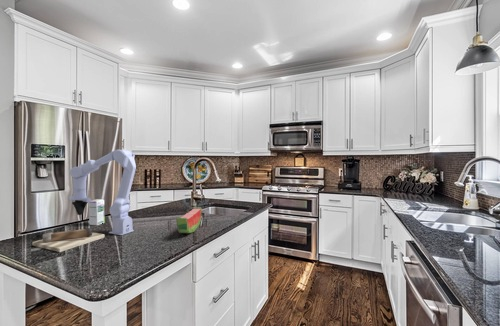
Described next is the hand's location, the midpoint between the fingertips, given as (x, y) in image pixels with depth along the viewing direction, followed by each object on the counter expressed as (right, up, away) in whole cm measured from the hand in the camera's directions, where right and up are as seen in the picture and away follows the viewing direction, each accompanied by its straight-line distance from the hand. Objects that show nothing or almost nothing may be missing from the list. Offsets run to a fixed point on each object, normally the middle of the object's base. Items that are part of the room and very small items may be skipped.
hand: (80, 214), depth 127 cm
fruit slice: (+58, -10, +3) cm, 59 cm away
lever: (+5, -8, -15) cm, 18 cm away
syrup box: (-1, -9, +16) cm, 18 cm away
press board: (+5, -10, -14) cm, 18 cm away
